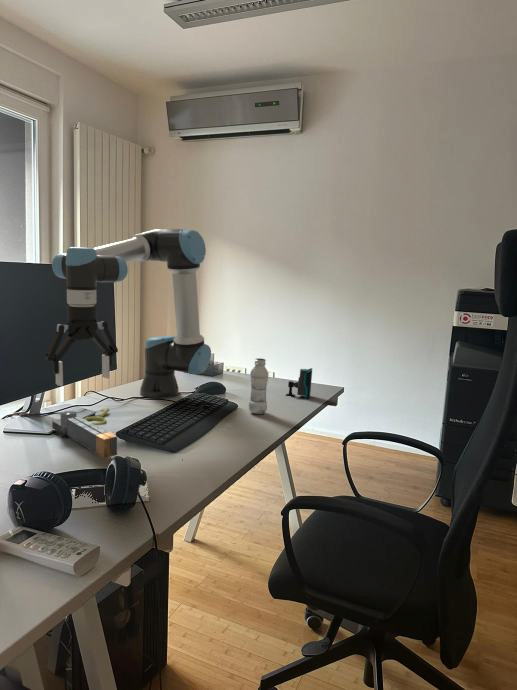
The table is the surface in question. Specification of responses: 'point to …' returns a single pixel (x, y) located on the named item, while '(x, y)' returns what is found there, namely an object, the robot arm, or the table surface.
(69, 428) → the tongs jaw
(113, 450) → the tongs jaw
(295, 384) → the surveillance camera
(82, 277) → the robot arm
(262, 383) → the plastic bottle
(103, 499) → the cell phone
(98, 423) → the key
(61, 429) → the tongs pivot
